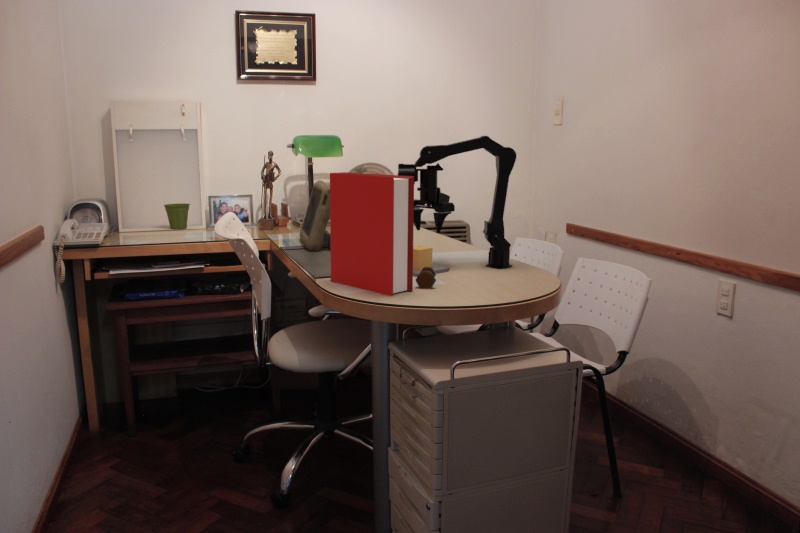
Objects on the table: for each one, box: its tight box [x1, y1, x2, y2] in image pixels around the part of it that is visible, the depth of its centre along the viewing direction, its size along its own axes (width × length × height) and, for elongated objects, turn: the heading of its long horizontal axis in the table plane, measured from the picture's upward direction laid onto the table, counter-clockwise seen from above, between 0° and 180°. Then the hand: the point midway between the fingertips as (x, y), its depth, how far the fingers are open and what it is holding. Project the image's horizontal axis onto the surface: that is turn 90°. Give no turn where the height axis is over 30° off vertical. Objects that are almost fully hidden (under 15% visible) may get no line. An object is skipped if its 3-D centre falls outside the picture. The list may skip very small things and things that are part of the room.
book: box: [329, 171, 415, 297], centre depth 184 cm, size 27×8×32 cm, turn 46°
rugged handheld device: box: [299, 180, 331, 252], centre depth 257 cm, size 33×14×25 cm, turn 19°
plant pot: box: [163, 203, 191, 230], centre depth 301 cm, size 12×12×11 cm
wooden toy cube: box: [413, 245, 433, 270], centre depth 209 cm, size 6×6×6 cm
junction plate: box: [413, 264, 450, 278], centre depth 209 cm, size 14×14×5 cm
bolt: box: [415, 267, 437, 290], centre depth 191 cm, size 6×5×15 cm
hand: (428, 231), depth 215 cm, fingers open, 9 cm apart
